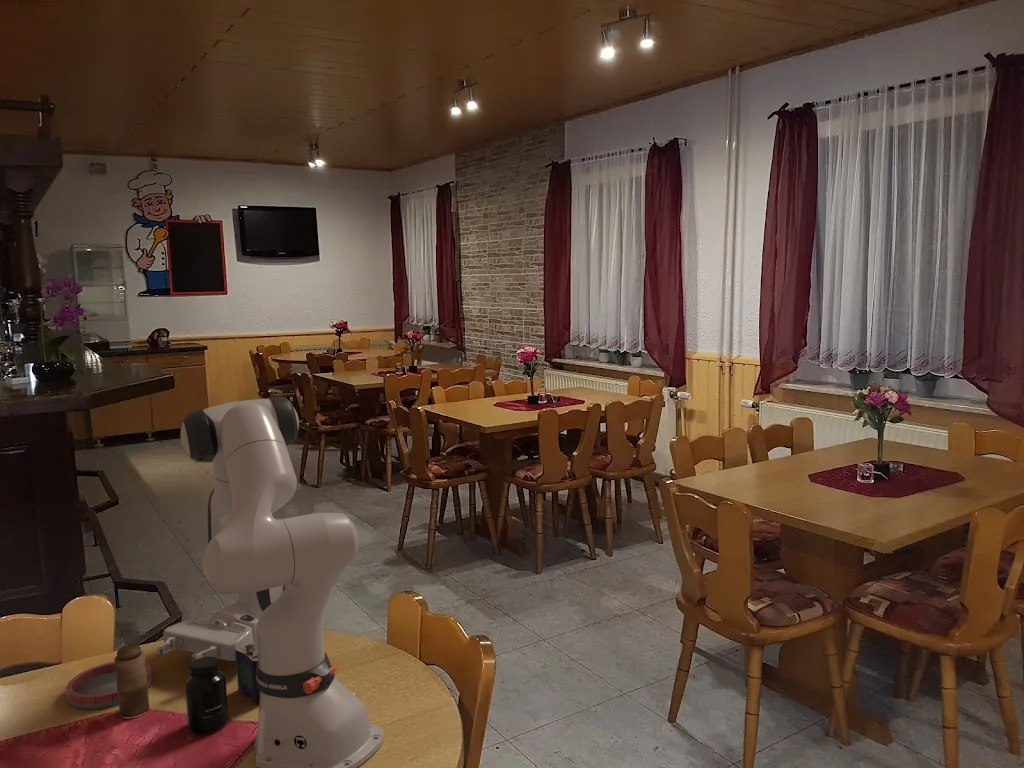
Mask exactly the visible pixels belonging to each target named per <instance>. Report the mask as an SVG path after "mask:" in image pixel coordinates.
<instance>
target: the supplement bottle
mask: <svg viewBox="0 0 1024 768" xmlns="http://www.w3.org/2000/svg"><path fill="white" fill-rule="evenodd" d="M219 663H220V661H219V658H216V657H202V658H199V659H196V660H194V661H193V662H192V661H191V662H190V664H189V675H190V677H188V678H187V680H186V682H185V686H184V687H185V701H186V715H187V716H186V717H187V719H186V720H187V727H188V730H189V731H190V733H192V734H194V735H207V734H206V733H209V734H211V733H210V732H213V731H216V730H218V729H220V728H221V727H223V726H224V725H225V724H226V725H227V723H228V721H229V711H228V710H229V709H228V695H227V691H228V690H227V682H226V681H227V680H226V679H227V678H226V676H225V674H224V673H223V672H222V671H220V664H219ZM226 725H225V726H226ZM225 726H224V727H225ZM224 727H223V728H224ZM221 729H222V728H221ZM221 729H220V730H221ZM218 731H219V730H218ZM216 732H217V731H216ZM213 733H214V732H213Z"/></svg>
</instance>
